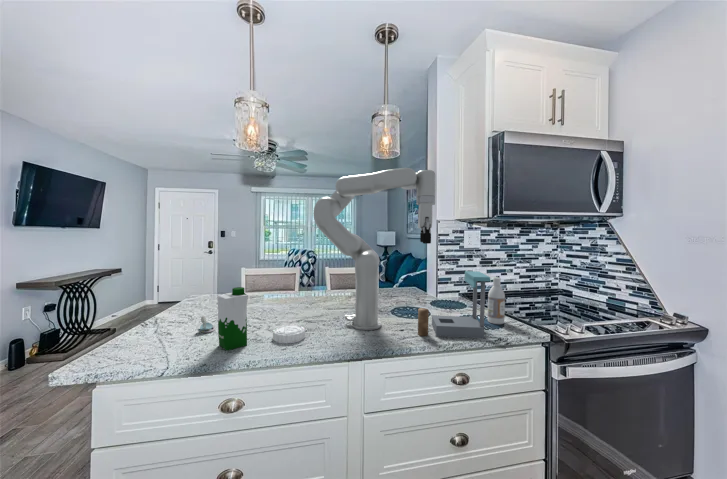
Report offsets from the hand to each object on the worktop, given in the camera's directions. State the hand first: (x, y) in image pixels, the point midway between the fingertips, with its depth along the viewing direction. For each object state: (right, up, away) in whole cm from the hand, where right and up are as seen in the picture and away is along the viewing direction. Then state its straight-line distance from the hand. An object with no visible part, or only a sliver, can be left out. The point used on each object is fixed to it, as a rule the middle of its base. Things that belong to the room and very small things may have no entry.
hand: (425, 242), depth 127 cm
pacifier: (-88, -36, -3) cm, 95 cm away
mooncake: (-54, -36, -10) cm, 66 cm away
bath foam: (+34, -36, +11) cm, 50 cm away
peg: (-2, -36, -6) cm, 37 cm away
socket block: (+12, -36, -1) cm, 38 cm away
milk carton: (-72, -36, -18) cm, 82 cm away
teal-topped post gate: (+20, -36, -2) cm, 41 cm away
